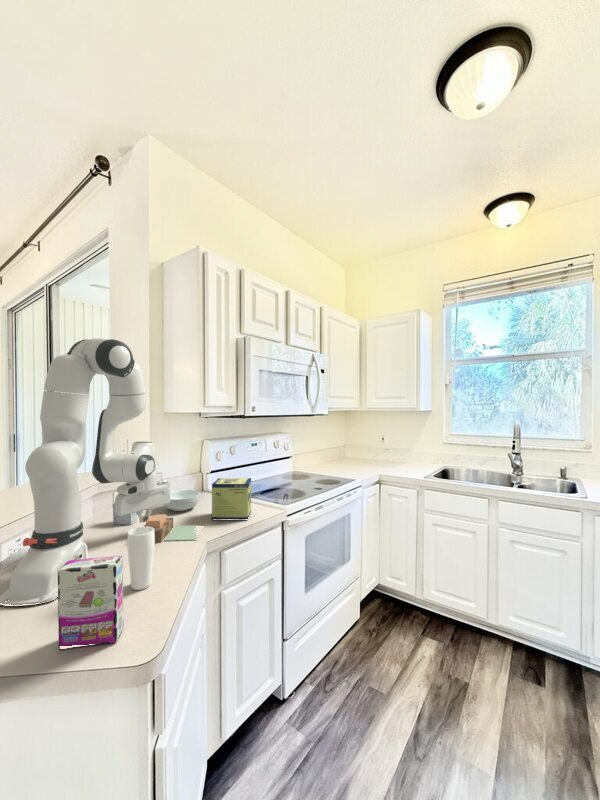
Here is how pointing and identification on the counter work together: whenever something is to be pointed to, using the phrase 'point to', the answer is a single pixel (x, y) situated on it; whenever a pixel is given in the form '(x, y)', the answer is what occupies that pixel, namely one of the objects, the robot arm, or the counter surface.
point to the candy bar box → (90, 601)
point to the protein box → (231, 498)
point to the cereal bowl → (183, 500)
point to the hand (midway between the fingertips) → (144, 521)
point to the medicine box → (124, 518)
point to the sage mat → (182, 533)
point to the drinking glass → (141, 556)
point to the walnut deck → (163, 530)
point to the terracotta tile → (156, 521)
